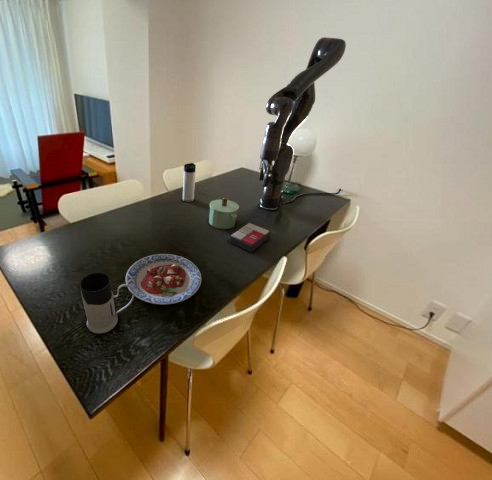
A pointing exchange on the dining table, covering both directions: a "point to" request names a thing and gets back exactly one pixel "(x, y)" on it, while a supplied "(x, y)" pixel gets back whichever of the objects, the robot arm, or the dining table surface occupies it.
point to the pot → (222, 219)
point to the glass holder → (100, 302)
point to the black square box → (250, 237)
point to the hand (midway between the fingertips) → (262, 183)
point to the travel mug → (189, 182)
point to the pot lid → (224, 205)
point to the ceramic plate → (163, 279)
